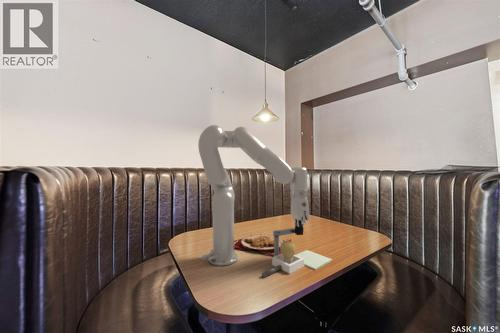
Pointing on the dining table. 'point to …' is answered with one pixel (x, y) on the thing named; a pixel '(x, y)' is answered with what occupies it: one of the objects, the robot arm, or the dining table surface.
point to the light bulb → (288, 251)
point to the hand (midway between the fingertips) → (299, 234)
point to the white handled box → (279, 263)
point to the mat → (313, 259)
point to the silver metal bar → (284, 232)
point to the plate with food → (258, 243)
